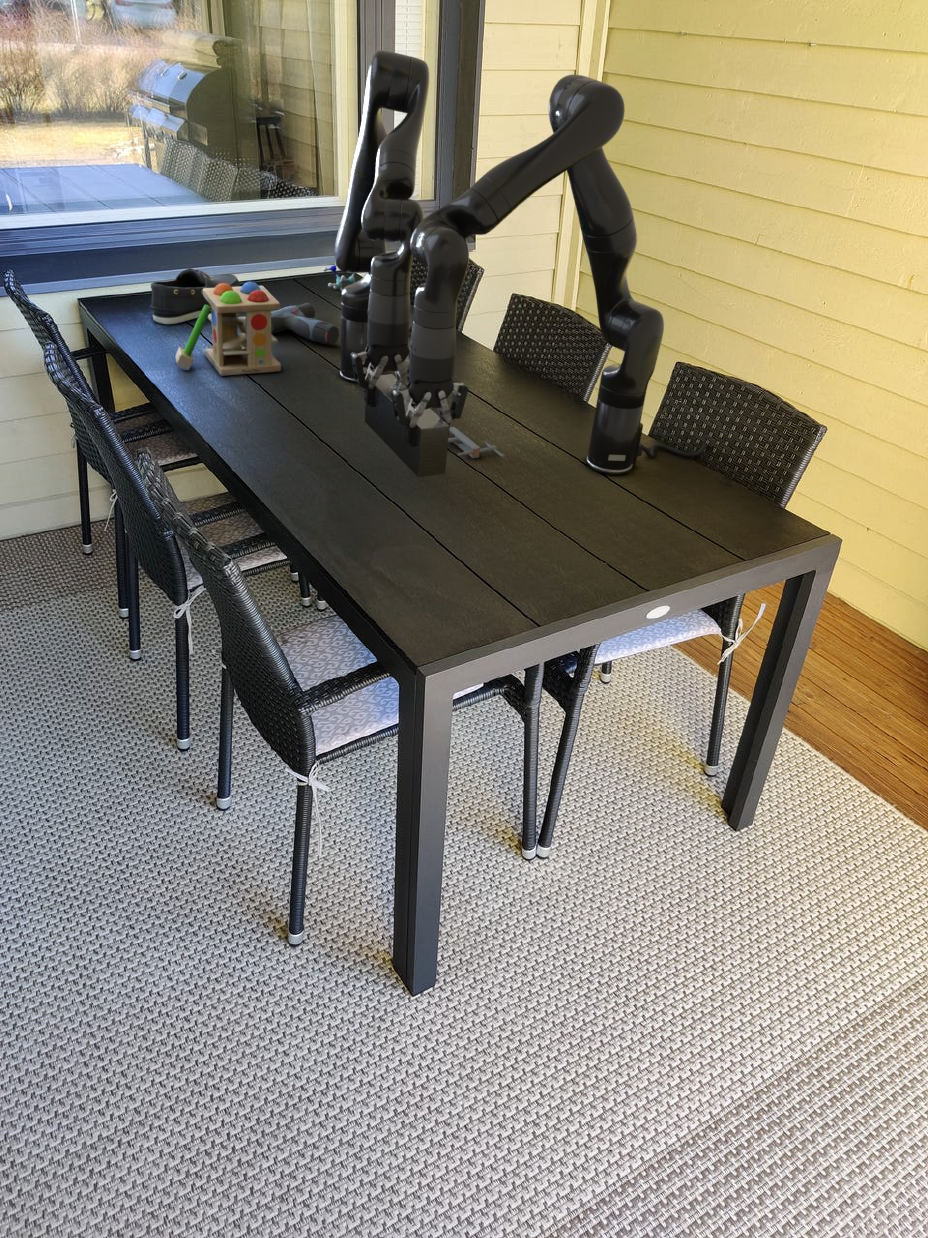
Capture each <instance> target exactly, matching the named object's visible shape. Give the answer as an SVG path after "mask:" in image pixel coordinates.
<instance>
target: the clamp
mask: <svg viewBox="0 0 928 1238" xmlns="http://www.w3.org/2000/svg"><path fill="white" fill-rule="evenodd" d="M452 443H453V444H454V445H456V446H457V447H458V448H459V449H460V450H462V451H463V452H458V453H457V456H458V457H460V456H469V457H470V458H472V459H477V458H480V454H482V453H487V452H488V453H496V454H497V455H498V456H499V457H500V459H502V460H504V459H506V457H507V456H506V454H504V453H501V452H500V451H499V450H498V447H497V446H496V445H495V444H494V445H491V444H490V443H489V442H488V441H486V440H485V441H484V442H483V446H484V447H483V448H481V447H480V446H479V444H476V443H475V442H474V441H473V440H471V439H470V438H469V437H468V436H466V435H465V434H464V433H463V432H461V431H460V430H459V429H457V428H456V427H455V426H450V430H449V437H448V444H452Z"/></svg>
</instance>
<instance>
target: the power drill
mask: <svg viewBox="0 0 928 1238" xmlns="http://www.w3.org/2000/svg"><path fill="white" fill-rule="evenodd" d="M315 315H316V308H315V306H314V305H313V304H312V303H311V302H305V303H300V304H295V305H294V304H293V305H289V306H285V307H283V308H280V310H271V334H272V335H273V334H275V333H276V334H277V333H279V332H282V331H286V330H290V331H292V332H293V333H295V334H296V335H298V336H300V337H302V338H305V339H307V340H309V341H313V342H316V343H319V344H323V345H327V346H333V345H335V344H336V343H337V342H338V340H339V337H340V330H339V328H338V326H336V325H334V324H333V323H332V324H331V323H329V322H328V321H323V320H321V319H317V318H314V317H315Z"/></svg>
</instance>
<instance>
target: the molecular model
mask: <svg viewBox="0 0 928 1238" xmlns="http://www.w3.org/2000/svg"><path fill="white" fill-rule="evenodd" d="M322 271H323V272H325V273H326V272H328V271H331V272H332V273H334V275H335V277H336V283H331V282H329V283H327V287H329V288H333V289H334V290H337V289H340V291H341V292H342V290H343V289H344V288H343V282H349V283H350V284H353V283H355V282H356V277H355V275H356V273H351V275H350V276H349V277H348V278H346V276H345V275H341V276H339V274H338V271H337V265H336V262H335V261H334V265H332V266H330V267H326V266H325V267H323V268H322Z"/></svg>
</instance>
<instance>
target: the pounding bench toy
mask: <svg viewBox="0 0 928 1238" xmlns="http://www.w3.org/2000/svg"><path fill="white" fill-rule="evenodd" d="M203 296H204V297H205V299H206V300H207V301H208V302H209V304H210V305H211V307H210V306H208V305H204V307H203V309H202V311H201V314H200V316H199V317H198V318H197V320H196V322H195V324H194V327H193V329H192V331H191V332H190V333H191V334H190V336H189V338H188V340H187V343H186V344H185V347H184V348H182V347H180V346H179V347H178V349H177V351H176V354H175V357H174V358H175V362H176V365H177V366H178V368H179V369H182V370H185V371H189V370H190V369H191V367H192V365H193V363H194V356H193V351H194V348H195V347H196V345H197V342H198V340H199V337H200V336H201V333H202V332H203V329H204V326H205V325H206V322H207V320H209V321H210V322H211V336H212V337H211V338H212V339H211V340H212V348H205V349H204V352H205V353H204V355H205V357H206V359H208V361H209V363H210V364H211V365H212V366H213V367H214V369H215V370H216V371H217V372H218V374H219V375H220V376H222V377H223V376H234V375H235V376H236V375H246V374H247V375H250V374H262V373H275V372H281V370H282V364H281V363H280V362H279V360H278V359H277V358H276V357H275V356H274V355H273V348H272V347H273V345H272V344H276V343H278V342H279V341H278V339H277V338H276V337H275V336H274V334H273V333H272V334H271V312H272V311H275V310H280V309H281V304H280V301H278V300H277V299H276V297H274V296H273V295H272V294H271V293H270V292H269V290H268V289H267V288H266V287H264V285H259V284H257V283H256V282H255V281H247V282H245V283H244V284H243V285H242V286H241V287H231V286H230V285H228V284H226V283H221V284H218V285H217V286H216V287H215V288H204V289H203ZM210 310H211V311H210ZM238 313H244V314H245V315H244V316H238ZM238 329H239V331H240V333H239V334H238Z"/></svg>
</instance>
